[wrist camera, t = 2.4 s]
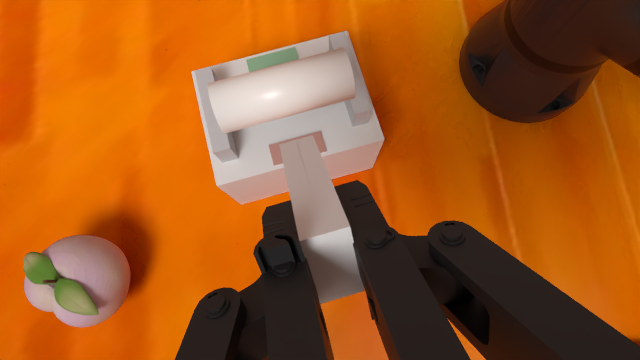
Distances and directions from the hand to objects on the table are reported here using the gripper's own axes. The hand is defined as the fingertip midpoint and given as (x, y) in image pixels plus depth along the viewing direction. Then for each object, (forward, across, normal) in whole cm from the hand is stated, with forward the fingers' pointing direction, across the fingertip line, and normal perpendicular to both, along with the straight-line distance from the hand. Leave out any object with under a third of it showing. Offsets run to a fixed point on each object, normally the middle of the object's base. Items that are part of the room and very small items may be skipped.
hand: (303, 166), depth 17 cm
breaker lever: (+20, 0, -3) cm, 20 cm away
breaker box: (+27, 0, -11) cm, 29 cm away
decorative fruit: (+20, -24, -18) cm, 36 cm away
